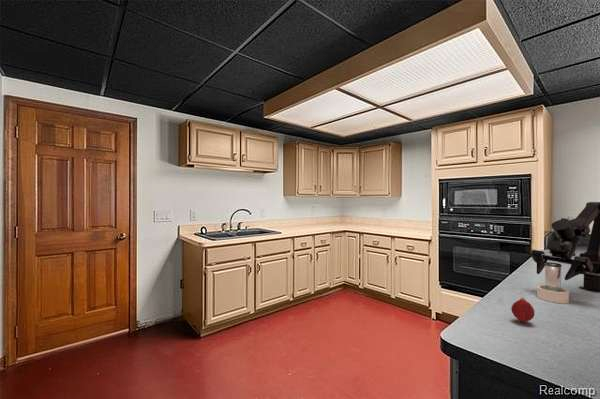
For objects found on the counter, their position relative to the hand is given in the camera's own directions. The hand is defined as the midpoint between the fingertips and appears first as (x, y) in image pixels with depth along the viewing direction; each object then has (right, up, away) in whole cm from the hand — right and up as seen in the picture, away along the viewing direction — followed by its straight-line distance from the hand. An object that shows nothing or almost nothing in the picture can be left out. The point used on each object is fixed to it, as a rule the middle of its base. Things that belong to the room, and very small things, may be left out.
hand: (551, 276), depth 114 cm
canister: (+1, -8, +1) cm, 8 cm away
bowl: (+1, -9, +1) cm, 9 cm away
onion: (-28, -9, -22) cm, 37 cm away
